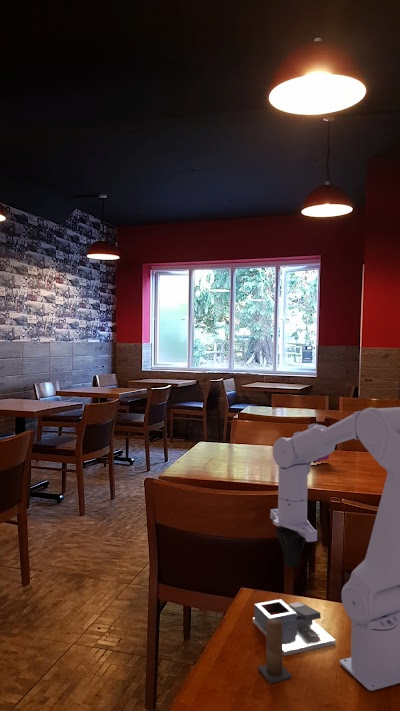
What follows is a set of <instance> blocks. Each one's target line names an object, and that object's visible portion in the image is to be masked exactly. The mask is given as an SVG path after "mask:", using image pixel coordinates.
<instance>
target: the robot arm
mask: <svg viewBox="0 0 400 711" xmlns="http://www.w3.org/2000/svg"><path fill="white" fill-rule="evenodd" d="M307 428H308V429H305V430H304V431H295V432H294V433H293V435H292V437H279V438H278V439H277V440H275V442H274V443H273V446H272V457H273V460H274V462H275V464H276V465H277V466H278V485H277V486H278V489H277V490H278V491H277V493H278V494H277V498H278V500H277V504H278V505H277V508H272V509H269V510H270V511H269V512H270V514H269V518H270V519H271V520H272V525H275V526H276V528H275V530H274V532H275V534H276V536H277V538H278V540H279V543H280V546H281V550H282V554H283V559H284V563H285V566H287V567H288V568H293V567H298V565H299V561H300V558H301V554H302V552H303V549H304V547H305V544H306V543H312V542H316V541H318V530H316V529H315V528H314V527H313V526H312V524H311V523H310V521H309V520H308V482H309V481H308V478H309V474H310V472H311V466H312V465H311V463H312V462H313V460H316V459H318V458H321V457H324V456H326V455H329V456H330V455H331V454H332V453H333V452H334V451H335V448H336V445H338V444H340V443H344V442H347V441H351V440H357V441H358V440H359V442H361V444H362V445H363V447H364V448H365V449H366V450H367V451H368V453H369V454H370V455H371V456H372V457H373V459H374V460H375V461H376V462H377V463H378V464H379V465H380V467H382V468H384V469H385V471H386V472H387V475H386V479H385V482H384V486H383V490H382V493H381V497H380V501H379V504H378V509H377V512H376V515H375V519H374V524H373V528H372V531H371V534H370V540H369V544H368V546H367V550H366V554H365V557H364V559H363V560H362V562H360V563H359V564H358V565H357V567H355V568H354V569H353V570H352V571H351V573H350V577H349V579H348V581H347V582H345V584H344V585H343V587H342V590H341V603H342V606H343V609H344V611H345V613H346V615H347V616H348V619H350V620H351V636H350V637H351V643H350V644H351V645H350V657H346V658H343V659H342V658H341V659H340V660H339V664H340V665H341V666H342V667H343V668H344V669H345V670H346V671H347V672H349V673H350V674H351V675H352V676H353V678H355V679H356V680H357V681H358V682H359V683H360V684H361V685H363V686H364V687H365V688H366V690H368V691H371V692H372V691H376V690H380V689H384V688H388V687H391V686H394V685H397V684H400V406H398V407H397V406H395V407H381V408H376V407H368V408H364V409H362V410H358V411H353V413H352V414H351V415H349V416H347V417H345V418H343V419H341V420H338V421H337V422H336V423H333V424H332V425H329V426H326V425H322V424H318V423H311V424H309V425H308V426H307Z"/></svg>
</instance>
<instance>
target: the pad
mask: <svg viewBox="0 0 400 711" xmlns="http://www.w3.org/2000/svg"><path fill="white" fill-rule="evenodd" d="M257 670H258V671H259V672H260V673H261V675H262V676H263V677H264V678H265V679H266V681H267V682H268V683H269V684H275V683H278V682H282V681H286V680H291V679H292V678H293V675H292V674H291V673H290V672H289V671H288V669H287V668H285V666H284V665H283V664H282V674H281V675H279V676H272V675H270V674H268V673H267V671H266V664H263V665H259V666H257Z"/></svg>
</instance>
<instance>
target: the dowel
mask: <svg viewBox="0 0 400 711" xmlns="http://www.w3.org/2000/svg"><path fill="white" fill-rule="evenodd" d="M265 637H266V638H265V640H266V641H265V642H266V646H265V647H266V649H265V650H266V657H265V658H266V664H265V665H266V671H267V673H268V674H270V675H272V676H279V675H281V674H282V665H283V654H282V621H281V620H280V619H277V618H270V619H268V620H267V621H266V636H265Z"/></svg>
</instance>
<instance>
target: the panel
mask: <svg viewBox="0 0 400 711" xmlns="http://www.w3.org/2000/svg"><path fill="white" fill-rule="evenodd" d="M271 612H277V613H280V614H275V615H270V614H269V613H271ZM253 614H254V617H252V623H253V624H254V625H255V626H256V627H257V628H258V629H259V630H260V632H262V634H263V635H264V636H265V637H266V621H267V620H268V619H270V618H277V619H280V620H281V621H282V656H284V657H287V656H290V655H294V654H295V655H296V654H299V653H300V654H301V653H304V652H309V651H312V650H313V651H314V650H317V649H321V648H327V647H331V646H335V645H336V642H337V641H336V639H335V638H334V637H333V636H331V635H330V634H329V633H328V632H327V631H326V630H325V629H324V628H322V627H321V625H319V624H318V623H316V622H315V621H314V620H309V621H305V620H303V619H301V618H299V617H298V616H297V613H296V612H295V611H294V610H293V609H291V608H290V607H289V606H288V604H287V603H286V601H284V600H283V599H281V598H279V599H273V600H269V601H264V602H257V603H254V612H253Z"/></svg>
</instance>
